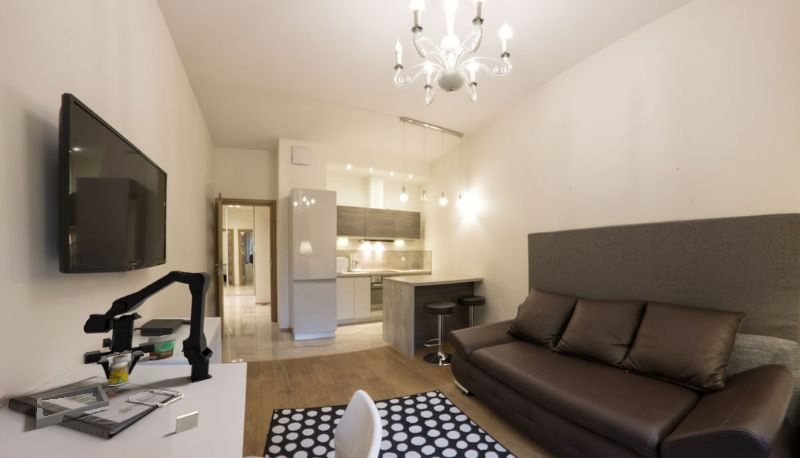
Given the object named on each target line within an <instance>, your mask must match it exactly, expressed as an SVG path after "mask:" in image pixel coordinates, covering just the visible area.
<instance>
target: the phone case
mask: <svg viewBox="0 0 800 458" xmlns="http://www.w3.org/2000/svg"><path fill="white" fill-rule="evenodd" d="M157 390H158V391H161V392H160V393H162V392H166V393H170V394H173V395H174V396H173V397H176V398H174V399H171V400H169V401H167V402H165V403H158V402H155V403H156V404H157V405H158V407H157V408H165V407H168V404H169V403H172V402H174V401H176V400H179V399H180V400H182V399H184V398H185V394H184V393H178V392H171V391H164V390H160V389H157ZM140 393H141V392H140ZM140 393H137V394H135V395H138V394H140ZM135 395H133V396H135ZM133 396H131V397H133ZM128 398H129V397H128ZM129 399H130V398H129Z"/></svg>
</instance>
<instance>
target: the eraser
mask: <svg viewBox="0 0 800 458" xmlns="http://www.w3.org/2000/svg"><path fill="white" fill-rule="evenodd" d="M199 416H200V412H199V411H198V410H196V411H192V412H189V413H185V414H183V415H179V416H177V417H175V418H176V420H175V421H176V422H175V430H174V432H175V433H176V434H179V433H181V432H185V431H187V430H190V429H193V428H196V427H199Z"/></svg>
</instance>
